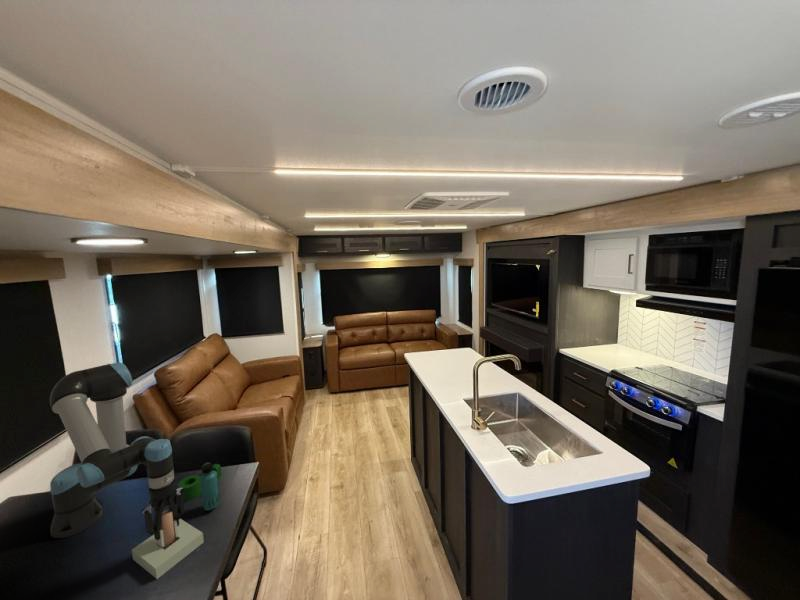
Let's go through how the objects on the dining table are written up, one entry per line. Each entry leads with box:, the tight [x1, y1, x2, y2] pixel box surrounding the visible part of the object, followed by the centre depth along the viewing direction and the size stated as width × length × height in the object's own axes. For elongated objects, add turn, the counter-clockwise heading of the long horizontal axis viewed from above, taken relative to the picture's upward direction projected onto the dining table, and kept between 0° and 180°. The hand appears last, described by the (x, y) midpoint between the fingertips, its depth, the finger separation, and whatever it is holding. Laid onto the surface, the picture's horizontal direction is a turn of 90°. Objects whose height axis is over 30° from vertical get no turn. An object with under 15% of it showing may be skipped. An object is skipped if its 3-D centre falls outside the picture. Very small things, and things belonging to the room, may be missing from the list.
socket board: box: [131, 518, 204, 580], centre depth 119 cm, size 16×16×4 cm
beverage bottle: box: [200, 463, 220, 511], centre depth 138 cm, size 6×7×20 cm
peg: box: [160, 509, 175, 549], centre depth 118 cm, size 4×4×12 cm
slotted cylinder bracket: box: [177, 461, 222, 502], centre depth 152 cm, size 18×9×6 cm, turn 167°
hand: (168, 540), depth 119 cm, fingers closed on peg, 4 cm apart
